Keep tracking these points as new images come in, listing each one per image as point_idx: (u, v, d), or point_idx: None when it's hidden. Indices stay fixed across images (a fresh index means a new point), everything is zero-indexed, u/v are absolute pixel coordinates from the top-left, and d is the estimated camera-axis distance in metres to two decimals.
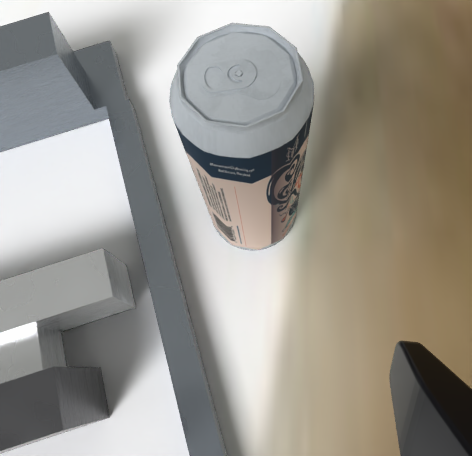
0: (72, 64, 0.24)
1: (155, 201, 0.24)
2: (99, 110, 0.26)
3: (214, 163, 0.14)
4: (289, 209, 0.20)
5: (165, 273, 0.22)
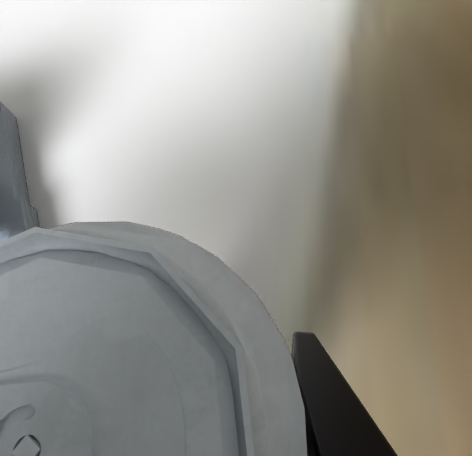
0: None
1: None
2: None
3: None
4: None
5: None
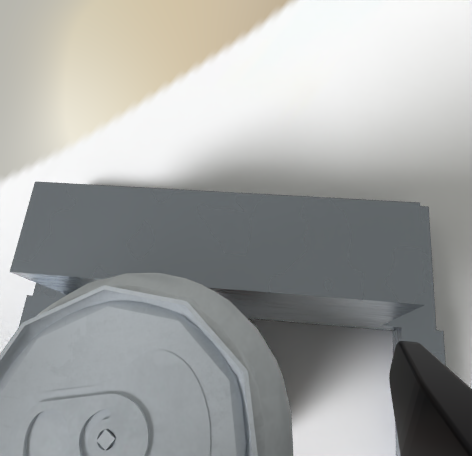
0: None
1: None
2: (385, 326, 0.16)
3: None
4: None
5: None
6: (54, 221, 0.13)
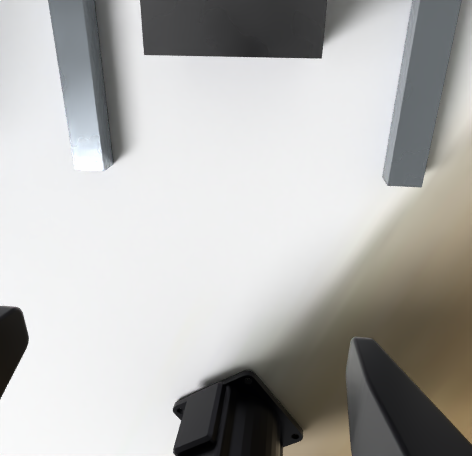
0: None
1: None
2: None
3: None
4: None
5: None
6: None
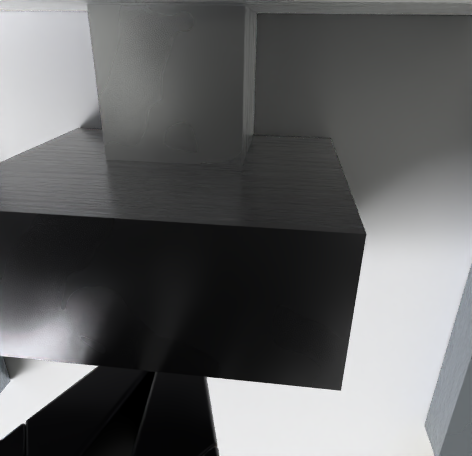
0: None
1: None
2: None
3: None
4: None
5: None
6: None
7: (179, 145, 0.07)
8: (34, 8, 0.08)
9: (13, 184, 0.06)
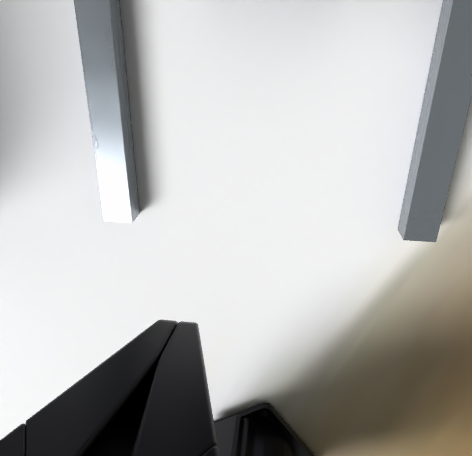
0: None
1: None
2: None
3: None
4: None
5: None
6: None
7: None
8: None
9: None
